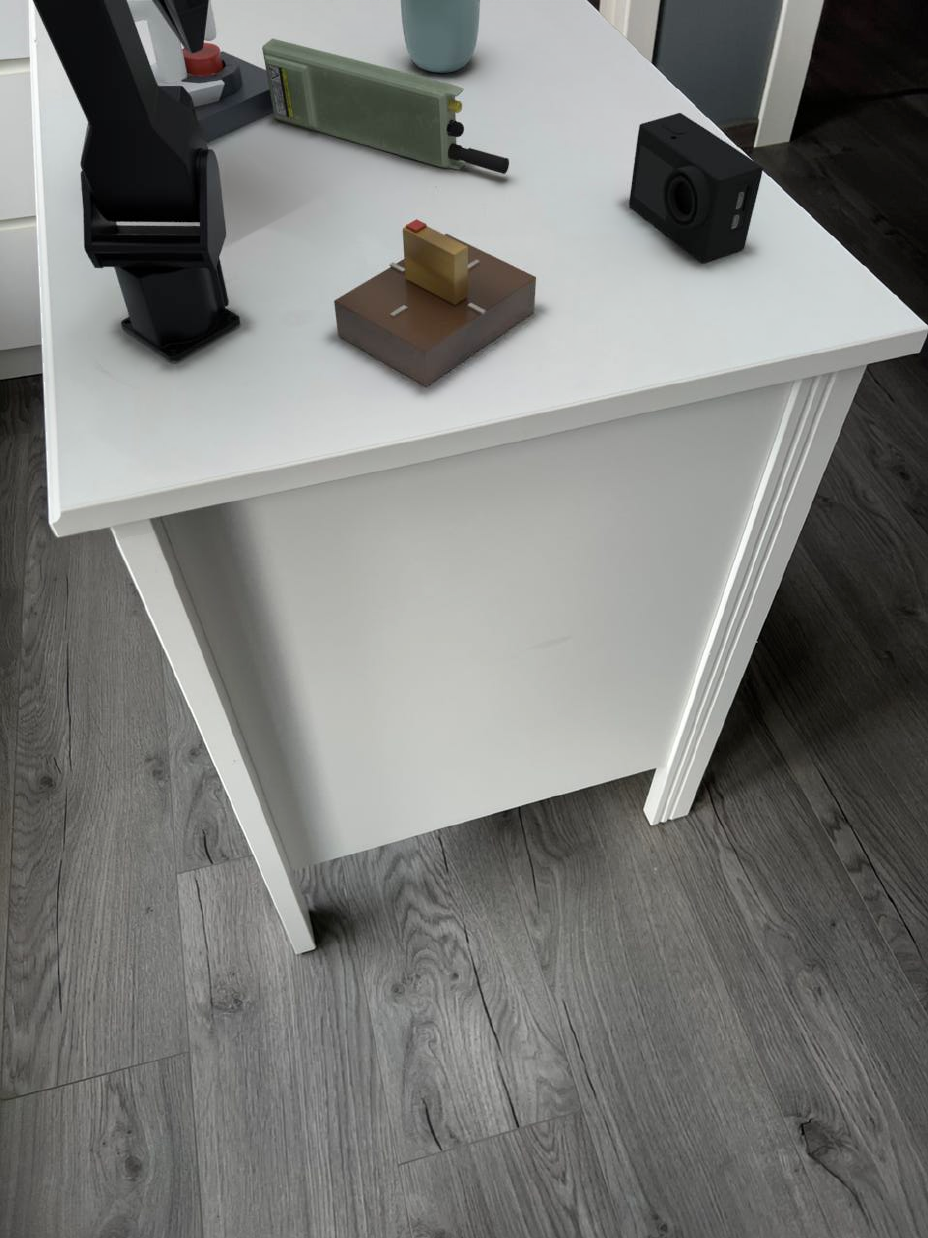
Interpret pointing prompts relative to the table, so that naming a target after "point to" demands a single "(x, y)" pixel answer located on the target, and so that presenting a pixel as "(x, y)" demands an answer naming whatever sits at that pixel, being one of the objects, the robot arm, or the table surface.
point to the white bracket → (174, 52)
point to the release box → (234, 97)
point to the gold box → (435, 262)
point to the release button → (203, 60)
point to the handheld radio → (370, 105)
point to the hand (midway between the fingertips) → (194, 50)
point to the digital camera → (694, 186)
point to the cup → (440, 32)
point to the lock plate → (434, 316)
